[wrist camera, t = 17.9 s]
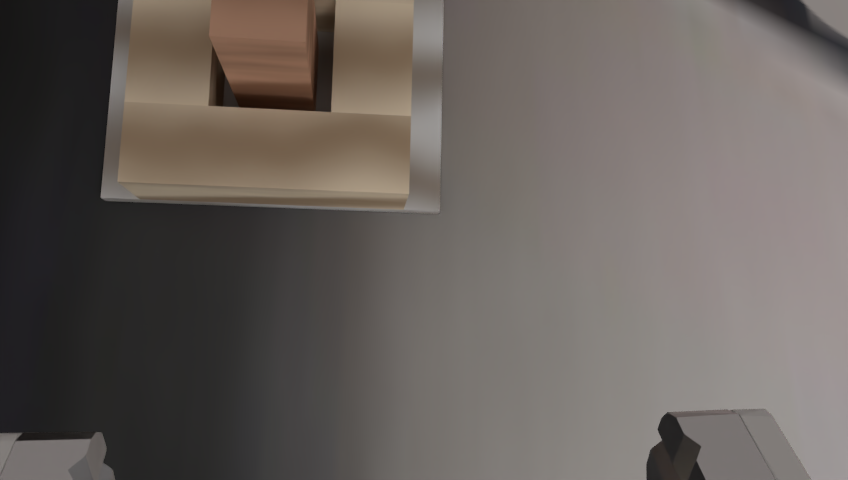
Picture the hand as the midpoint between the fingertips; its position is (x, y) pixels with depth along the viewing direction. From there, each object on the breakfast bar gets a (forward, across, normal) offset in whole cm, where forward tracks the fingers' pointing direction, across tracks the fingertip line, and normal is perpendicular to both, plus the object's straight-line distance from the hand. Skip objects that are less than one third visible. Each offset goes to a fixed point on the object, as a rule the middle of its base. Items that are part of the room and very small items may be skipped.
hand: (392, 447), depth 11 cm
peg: (+33, +4, +9) cm, 34 cm away
